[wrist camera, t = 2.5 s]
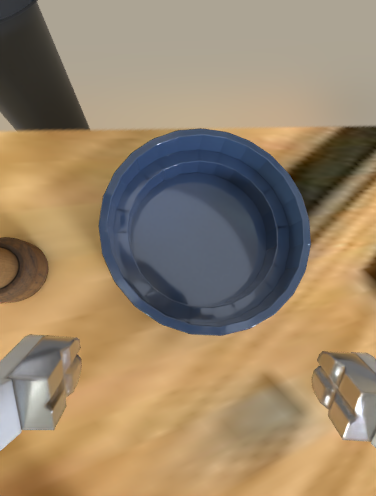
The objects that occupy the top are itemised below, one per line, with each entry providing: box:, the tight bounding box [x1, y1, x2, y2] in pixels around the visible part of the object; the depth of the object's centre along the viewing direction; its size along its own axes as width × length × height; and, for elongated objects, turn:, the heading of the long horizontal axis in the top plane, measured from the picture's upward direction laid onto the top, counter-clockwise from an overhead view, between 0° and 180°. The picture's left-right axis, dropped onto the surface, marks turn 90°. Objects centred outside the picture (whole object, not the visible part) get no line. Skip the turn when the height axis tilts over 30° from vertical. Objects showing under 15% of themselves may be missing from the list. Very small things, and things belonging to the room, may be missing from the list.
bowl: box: [99, 128, 311, 336], centre depth 24 cm, size 21×21×6 cm
